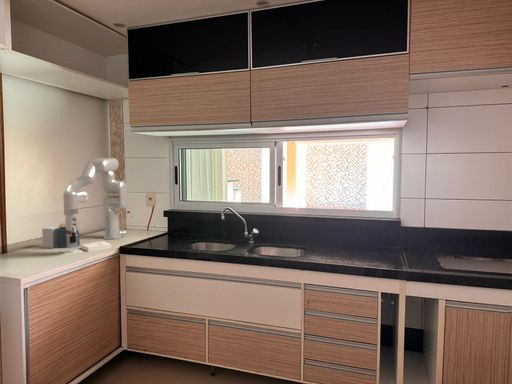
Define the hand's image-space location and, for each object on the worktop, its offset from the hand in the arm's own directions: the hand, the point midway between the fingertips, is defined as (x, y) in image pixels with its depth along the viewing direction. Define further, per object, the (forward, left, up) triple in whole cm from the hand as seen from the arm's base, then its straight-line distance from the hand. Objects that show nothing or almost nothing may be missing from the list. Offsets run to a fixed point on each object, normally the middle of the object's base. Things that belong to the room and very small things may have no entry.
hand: (72, 241), depth 209 cm
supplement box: (+4, -28, -7) cm, 29 cm away
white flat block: (-14, 0, -7) cm, 16 cm away
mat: (0, 0, -7) cm, 7 cm away
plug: (0, 0, -3) cm, 3 cm away
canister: (-4, -20, -7) cm, 22 cm away
